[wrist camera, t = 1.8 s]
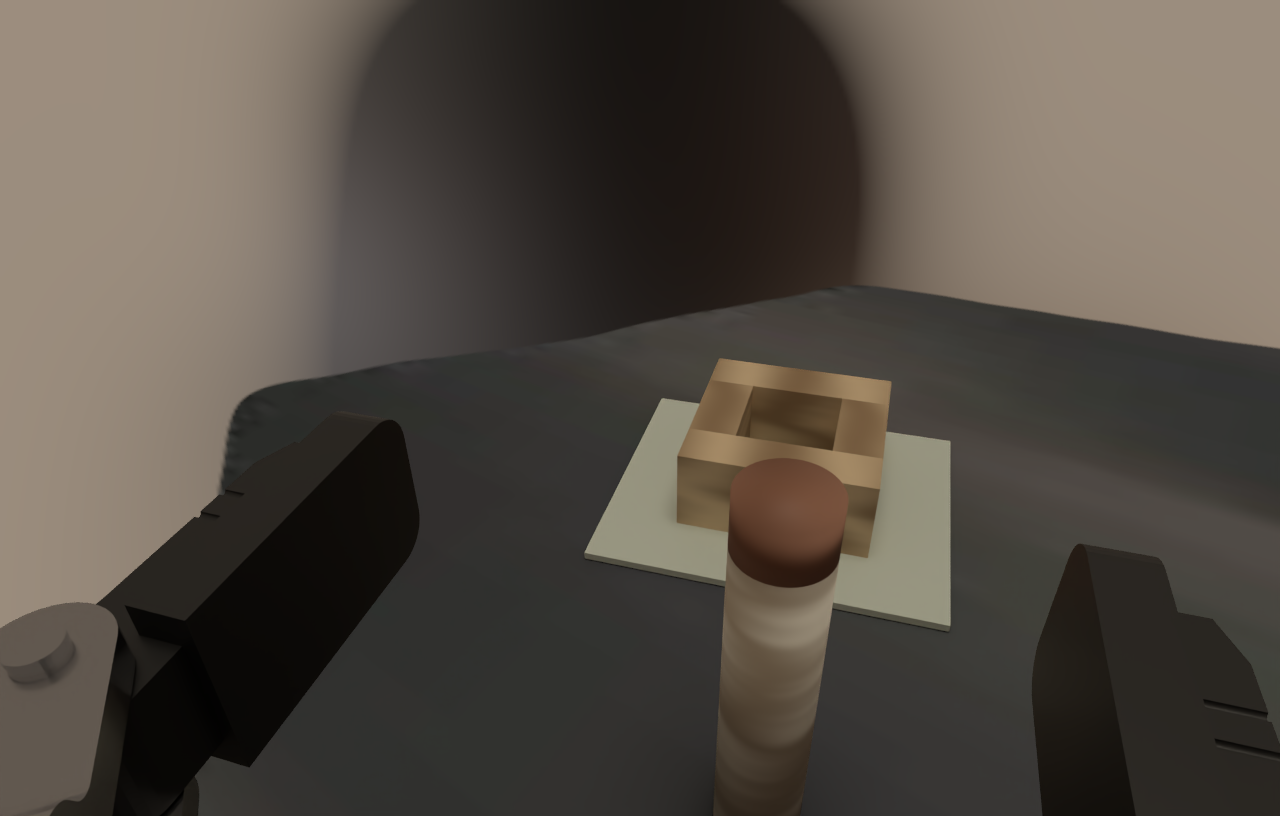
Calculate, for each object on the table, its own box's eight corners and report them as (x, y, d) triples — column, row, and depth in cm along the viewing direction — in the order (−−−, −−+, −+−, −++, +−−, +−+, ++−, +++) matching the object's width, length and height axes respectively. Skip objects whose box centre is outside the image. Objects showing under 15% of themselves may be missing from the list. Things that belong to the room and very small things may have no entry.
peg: (803, 792, 33) (853, 468, 24) (791, 872, 31) (842, 542, 22) (722, 772, 34) (742, 450, 25) (704, 847, 32) (719, 520, 23)
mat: (948, 446, 52) (950, 441, 51) (948, 631, 40) (950, 625, 40) (662, 403, 56) (662, 398, 56) (584, 558, 44) (584, 552, 44)
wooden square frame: (880, 445, 51) (891, 381, 49) (867, 558, 43) (880, 489, 41) (716, 420, 54) (719, 358, 51) (676, 522, 46) (677, 455, 43)
